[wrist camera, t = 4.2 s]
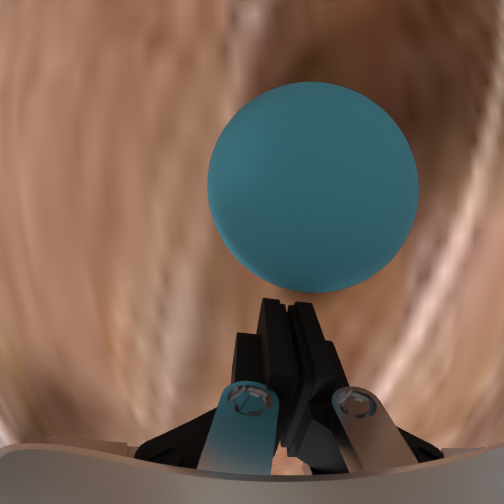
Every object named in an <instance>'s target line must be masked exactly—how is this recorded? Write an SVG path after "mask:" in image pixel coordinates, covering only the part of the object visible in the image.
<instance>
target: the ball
mask: <svg viewBox="0 0 504 504" xmlns="http://www.w3.org/2000/svg"><path fill="white" fill-rule="evenodd" d="M207 188H208V200H209V206H210V210H211V214H212V217H213V220H214V223H215V226H216V228H217V230H218V232H219V234H220V236H221V238H222V240H223V241H224V243H225V245H226V246H227V247H228V248H229V250H230V251H231V252H232V254H233V255H234V256H235V257H236V259H237V260H239V261H240V262H241V263H242V264H243V265H244V266H245V267H246V268H247V269H249V270H250V271H251V272H252V273H254V274H255V275H257V276H259V277H260V278H262V279H264V280H266V281H268V282H269V283H272V284H274V285H276V286H279V287H282V288H285V289H289V290H294V291H299V292H307V293H325V292H332V291H337V290H341V289H345V288H348V287H351V286H353V285H356V284H358V283H360V282H363V281H365V280H366V279H368V278H370V277H371V276H373V275H374V274H376V273H377V272H378V271H380V270H381V269H382V268H383V267H384V266H385V265H387V264H388V263H389V262H390V261H391V260H392V258H393V257H394V256H395V255H396V254H397V252H398V251H399V250H400V248H401V247H402V245H403V244H404V242H405V240H406V238H407V236H408V234H409V232H410V230H411V227H412V225H413V222H414V219H415V215H416V211H417V206H418V197H419V182H418V173H417V168H416V163H415V160H414V156H413V153H412V151H411V149H410V146H409V144H408V142H407V140H406V138H405V136H404V134H403V133H402V131H401V130H400V128H399V127H398V126H397V124H396V123H395V122H394V120H393V119H392V118H391V117H390V116H389V115H388V114H387V113H386V112H385V111H384V110H383V109H382V108H381V107H379V106H378V105H377V104H375V103H374V102H373V101H371V100H370V99H369V98H367V97H365V96H364V95H362V94H360V93H358V92H356V91H354V90H351V89H348V88H345V87H342V86H339V85H335V84H330V83H325V82H297V83H292V84H287V85H283V86H280V87H277V88H274V89H271V90H269V91H267V92H265V93H263V94H261V95H259V96H258V97H256V98H255V99H253V100H252V101H250V102H249V103H247V104H246V105H245V106H244V107H242V108H241V109H240V110H239V111H238V112H237V113H236V114H235V115H234V117H233V118H232V119H231V120H230V121H229V123H228V124H227V125H226V127H225V128H224V130H223V131H222V133H221V135H220V136H219V138H218V141H217V143H216V146H215V148H214V151H213V153H212V156H211V160H210V165H209V171H208V186H207Z"/></svg>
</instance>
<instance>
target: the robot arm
mask: <svg viewBox="0 0 504 504" xmlns="http://www.w3.org/2000/svg"><path fill="white" fill-rule="evenodd" d="M279 442H280V443H281V447H287V456H288V457H297V458H299V459H300V460H302V461H303V465H302V468H303V473H304V475H270V474H271V467H272V459H273V457H274V456H275V453H276V450H277V447H278V444H279ZM0 504H504V442H503V443H500V444H496V445H492V446H488V447H481V448H442V449H441V450H439V449H438V448H436V447H435V446H433V445H432V444H430V443H428V442H426V441H424V440H422V439H420V438H418V437H416V436H414V435H412V434H410V433H408V432H406V431H404V430H402V429H401V428H399V427H397V426H396V425H395V424H394V422H393V421H392V419H391V418H390V416H389V414H388V413H387V411H386V410H385V408H384V407H383V405H382V403H381V402H380V400H379V399H378V398H377V397H376V396H375V395H374V394H373V393H371V392H370V391H368V390H365V389H363V388H359V387H351V386H349V384H348V381H347V378H346V376H345V373H344V370H343V368H342V365H341V362H340V360H339V357H338V354H337V352H336V349H335V347H334V344H333V342H332V341H326V340H325V338H324V335H323V333H322V330H321V327H320V324H319V321H318V319H317V316H316V313H315V310H314V308H313V305H312V303H306V302H295V303H294V305H289V306H288V310H287V312H286V307H285V304H280V301H279V300H278V299H269V298H263V299H262V304H261V310H260V315H259V321H258V327H257V332H256V334H248V333H240V332H237V336H236V342H235V349H234V357H233V365H232V377H231V384H230V385H229V386H228V387H226V388H225V389H224V391H223V393H222V395H221V398H220V401H219V404H218V407H217V408H215V409H213V410H211V411H209V412H207V413H205V414H203V415H201V416H199V417H197V418H195V419H193V420H191V421H189V422H187V423H185V424H183V425H181V426H179V427H177V428H175V429H173V430H171V431H168V432H166V433H164V434H162V435H160V436H158V437H155V438H153V439H151V440H149V441H147V442H145V443H144V444H142V445H141V446H140V447H129V446H128V445H127V443H123V442H108V441H96V440H87V439H78V438H70V437H63V436H51V437H48V438H45V439H43V440H42V441H41V442H39V443H21V444H13V445H9V446H5V447H2V448H0Z"/></svg>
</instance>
